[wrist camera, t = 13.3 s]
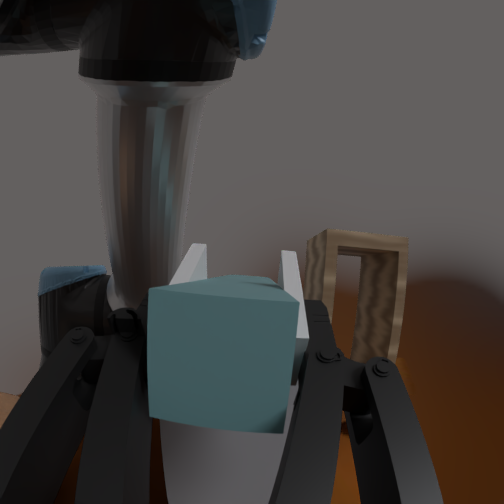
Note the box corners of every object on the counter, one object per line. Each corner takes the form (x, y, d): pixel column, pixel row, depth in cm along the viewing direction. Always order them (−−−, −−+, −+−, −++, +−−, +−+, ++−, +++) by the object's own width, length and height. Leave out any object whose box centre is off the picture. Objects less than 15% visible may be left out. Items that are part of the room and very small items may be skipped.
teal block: (283, 433, 7) (299, 302, 7) (149, 416, 7) (148, 288, 7) (265, 312, 31) (268, 277, 31) (229, 310, 31) (232, 274, 31)
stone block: (272, 545, 13) (313, 365, 15) (173, 534, 14) (158, 350, 15) (270, 482, 24) (292, 328, 25) (193, 474, 24) (196, 320, 25)
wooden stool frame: (375, 440, 32) (408, 237, 34) (299, 446, 32) (327, 228, 34) (348, 402, 47) (369, 246, 49) (289, 403, 47) (307, 240, 49)
